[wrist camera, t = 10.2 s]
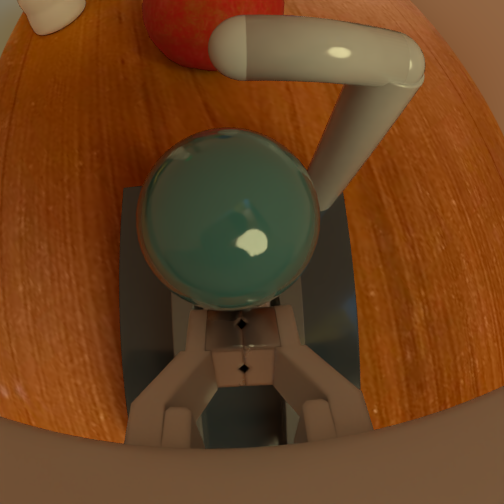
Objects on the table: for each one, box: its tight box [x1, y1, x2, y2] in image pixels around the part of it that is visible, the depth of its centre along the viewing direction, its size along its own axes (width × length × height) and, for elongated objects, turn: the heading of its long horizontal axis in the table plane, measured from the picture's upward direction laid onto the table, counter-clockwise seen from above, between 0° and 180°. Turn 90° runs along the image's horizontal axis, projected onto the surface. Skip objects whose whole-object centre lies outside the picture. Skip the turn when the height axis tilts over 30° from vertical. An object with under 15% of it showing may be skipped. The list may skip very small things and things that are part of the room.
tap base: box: [119, 14, 425, 449], centre depth 11 cm, size 12×16×14 cm
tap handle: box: [136, 127, 320, 311], centre depth 10 cm, size 3×4×12 cm
